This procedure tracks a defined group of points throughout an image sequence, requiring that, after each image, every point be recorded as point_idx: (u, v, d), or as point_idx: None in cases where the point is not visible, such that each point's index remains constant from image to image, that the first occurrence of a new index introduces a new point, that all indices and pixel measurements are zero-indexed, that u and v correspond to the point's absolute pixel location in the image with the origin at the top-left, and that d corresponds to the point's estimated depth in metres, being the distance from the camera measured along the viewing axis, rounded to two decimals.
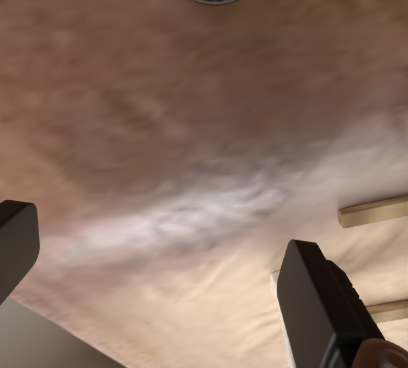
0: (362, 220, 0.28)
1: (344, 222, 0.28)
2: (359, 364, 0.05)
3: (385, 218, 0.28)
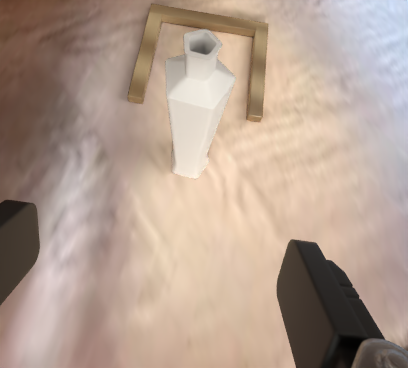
0: (140, 83, 0.32)
1: (136, 95, 0.32)
2: (359, 364, 0.05)
3: (147, 69, 0.33)
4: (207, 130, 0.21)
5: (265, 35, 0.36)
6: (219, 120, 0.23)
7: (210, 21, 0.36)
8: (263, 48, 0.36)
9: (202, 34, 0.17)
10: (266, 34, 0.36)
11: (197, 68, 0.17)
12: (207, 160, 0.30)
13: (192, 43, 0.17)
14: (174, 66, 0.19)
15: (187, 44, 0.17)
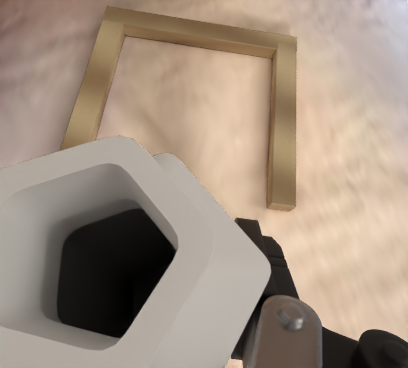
0: None
1: None
2: (263, 322, 0.06)
3: (91, 120, 0.19)
4: None
5: (293, 56, 0.22)
6: None
7: (203, 34, 0.22)
8: (291, 79, 0.21)
9: (101, 168, 0.03)
10: (294, 55, 0.22)
11: None
12: None
13: (59, 203, 0.03)
14: None
15: None
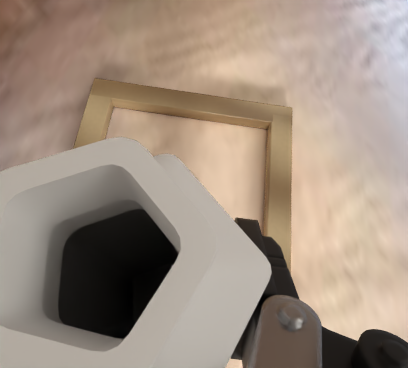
0: None
1: None
2: (263, 322, 0.06)
3: None
4: None
5: (288, 130, 0.21)
6: None
7: (194, 107, 0.21)
8: (286, 156, 0.21)
9: (103, 169, 0.03)
10: (290, 128, 0.21)
11: None
12: None
13: (61, 204, 0.03)
14: None
15: None
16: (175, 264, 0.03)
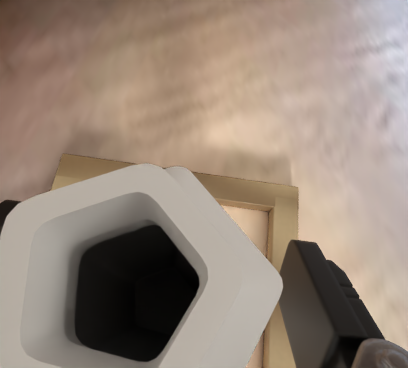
0: None
1: None
2: (359, 364, 0.05)
3: None
4: None
5: (294, 218, 0.18)
6: None
7: None
8: None
9: (128, 196, 0.03)
10: (296, 215, 0.18)
11: None
12: None
13: (83, 228, 0.03)
14: None
15: (11, 298, 0.02)
16: (202, 294, 0.03)
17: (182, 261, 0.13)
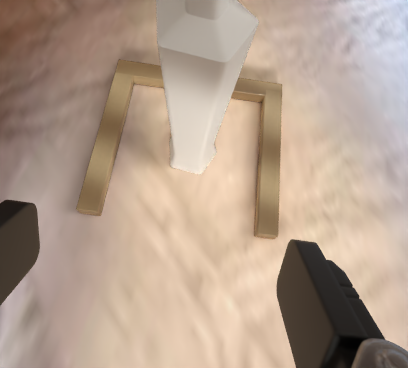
0: (97, 187, 0.22)
1: (89, 208, 0.21)
2: (359, 364, 0.05)
3: (107, 163, 0.23)
4: (217, 101, 0.15)
5: (278, 102, 0.26)
6: (232, 92, 0.17)
7: None
8: (276, 123, 0.25)
9: None
10: (280, 101, 0.26)
11: None
12: (214, 151, 0.24)
13: None
14: (169, 2, 0.13)
15: None
16: None
17: None
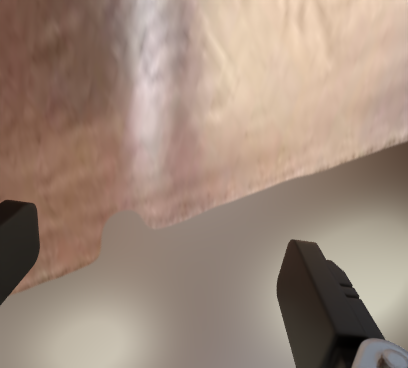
0: None
1: None
2: (359, 364, 0.05)
3: None
4: None
5: None
6: None
7: None
8: None
9: None
10: None
11: None
12: None
13: None
14: None
15: None
16: None
17: None
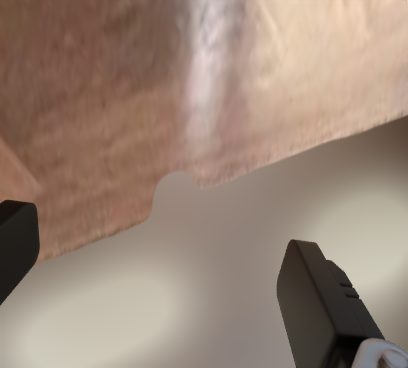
0: None
1: None
2: (359, 364, 0.05)
3: None
4: None
5: None
6: None
7: None
8: None
9: None
10: None
11: None
12: None
13: None
14: None
15: None
16: None
17: None
